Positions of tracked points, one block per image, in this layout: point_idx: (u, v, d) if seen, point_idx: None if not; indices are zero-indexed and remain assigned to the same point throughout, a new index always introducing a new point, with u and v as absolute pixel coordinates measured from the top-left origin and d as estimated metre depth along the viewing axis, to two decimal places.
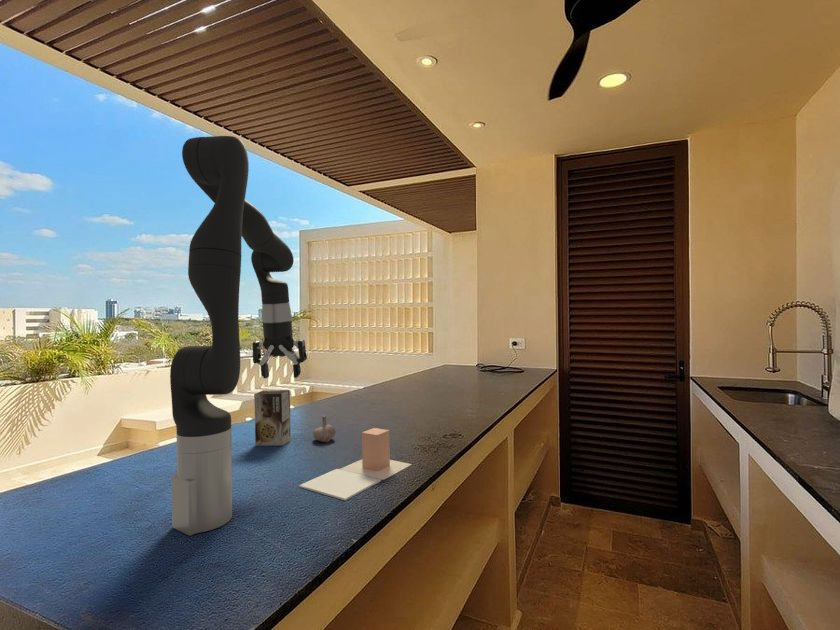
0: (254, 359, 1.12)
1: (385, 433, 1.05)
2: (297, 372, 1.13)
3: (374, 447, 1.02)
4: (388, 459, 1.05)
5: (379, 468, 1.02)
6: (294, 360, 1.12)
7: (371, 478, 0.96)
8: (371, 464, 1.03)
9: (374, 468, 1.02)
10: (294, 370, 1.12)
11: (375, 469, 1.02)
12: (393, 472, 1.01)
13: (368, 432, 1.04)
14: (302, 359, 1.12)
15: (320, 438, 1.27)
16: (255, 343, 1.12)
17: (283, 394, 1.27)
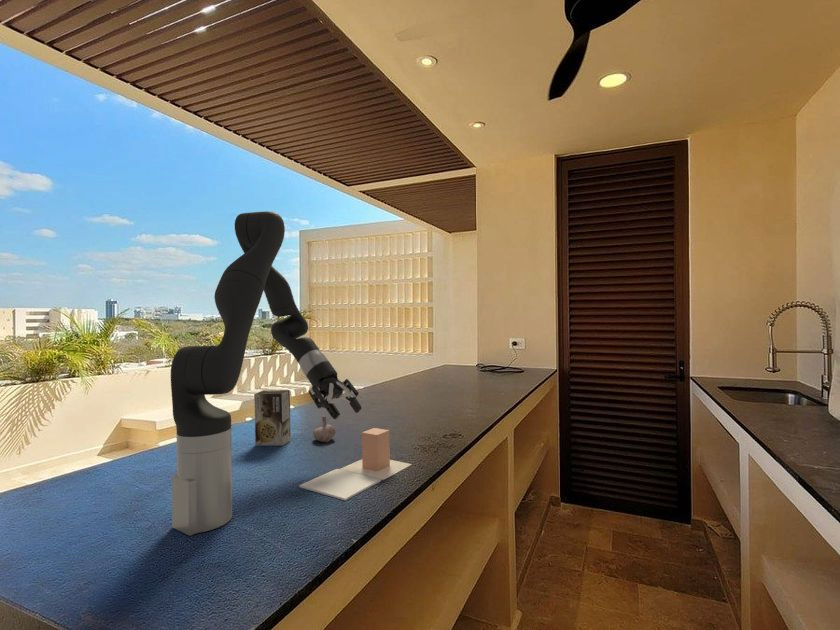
0: (322, 399, 1.06)
1: (385, 433, 1.05)
2: None
3: (374, 447, 1.02)
4: (388, 459, 1.05)
5: (379, 468, 1.02)
6: (352, 394, 1.16)
7: (371, 478, 0.96)
8: (371, 464, 1.03)
9: (374, 468, 1.02)
10: (356, 402, 1.14)
11: (375, 469, 1.02)
12: (393, 472, 1.01)
13: (368, 432, 1.04)
14: (357, 392, 1.17)
15: (320, 438, 1.27)
16: (315, 386, 1.09)
17: (283, 394, 1.27)
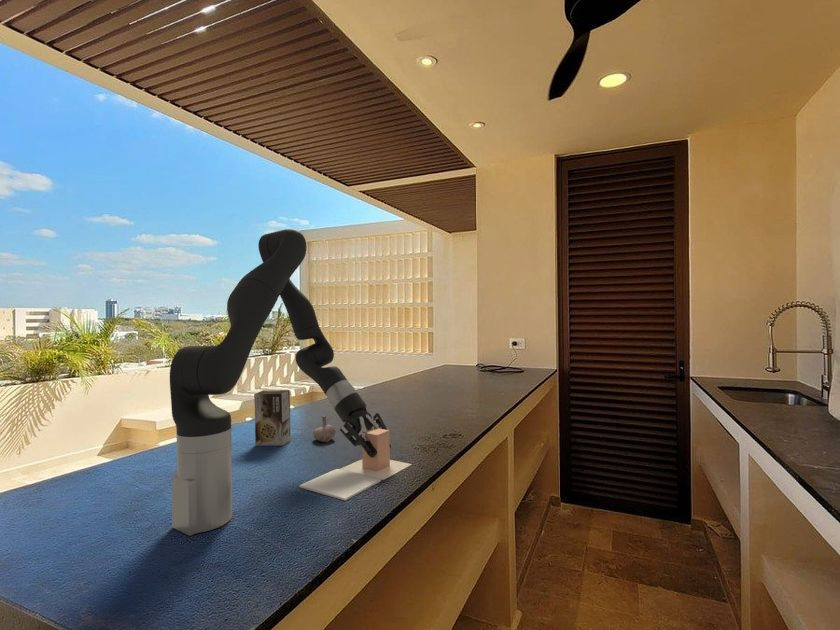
0: (358, 437, 1.01)
1: (385, 433, 1.05)
2: None
3: (374, 447, 1.02)
4: (388, 459, 1.05)
5: (379, 468, 1.02)
6: None
7: (371, 478, 0.96)
8: (371, 464, 1.03)
9: (374, 468, 1.02)
10: None
11: (375, 469, 1.02)
12: (393, 472, 1.01)
13: (368, 432, 1.04)
14: (385, 428, 1.10)
15: (320, 438, 1.27)
16: (347, 423, 1.03)
17: (283, 394, 1.27)
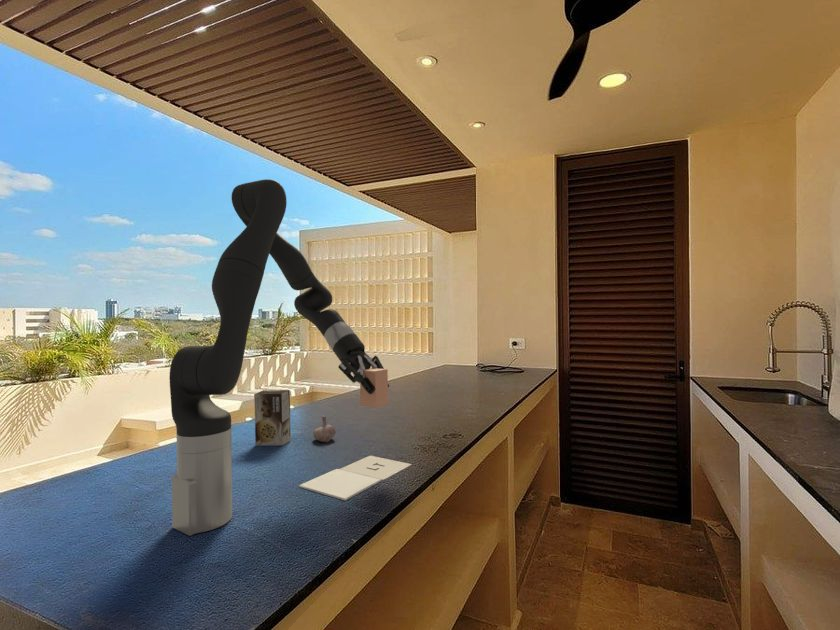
0: (357, 373, 1.01)
1: (383, 371, 1.05)
2: None
3: None
4: (386, 398, 1.05)
5: (377, 405, 1.02)
6: None
7: (371, 478, 0.96)
8: (369, 401, 1.03)
9: (372, 405, 1.02)
10: None
11: (373, 405, 1.02)
12: (393, 472, 1.01)
13: (366, 370, 1.04)
14: None
15: (320, 438, 1.27)
16: (345, 360, 1.03)
17: (283, 394, 1.27)
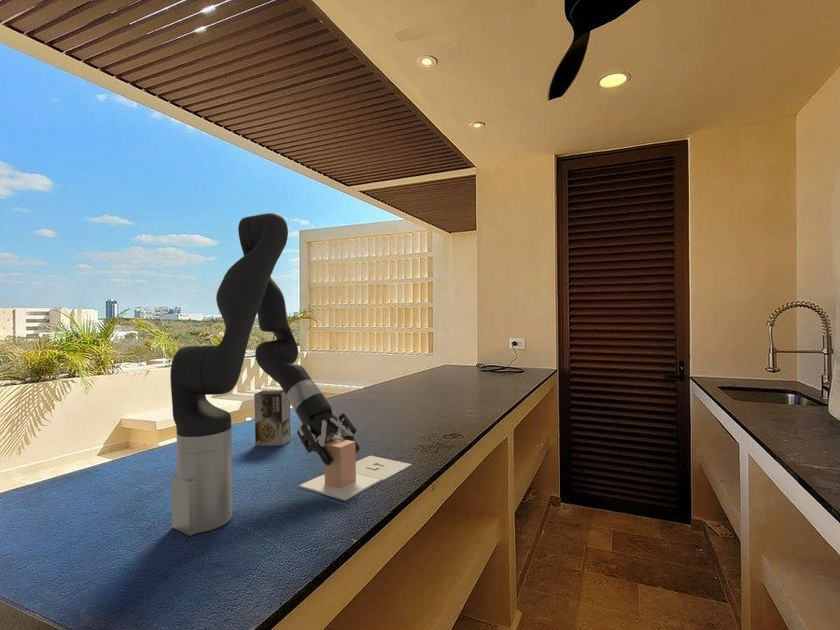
0: (312, 442, 0.90)
1: (350, 445, 0.94)
2: (356, 444, 0.98)
3: (337, 461, 0.91)
4: (354, 474, 0.95)
5: (343, 484, 0.91)
6: (348, 432, 0.99)
7: (371, 478, 0.96)
8: (333, 480, 0.92)
9: (337, 484, 0.91)
10: None
11: (338, 486, 0.91)
12: (393, 472, 1.01)
13: (331, 444, 0.93)
14: (354, 429, 1.01)
15: None
16: (305, 425, 0.92)
17: (283, 394, 1.27)
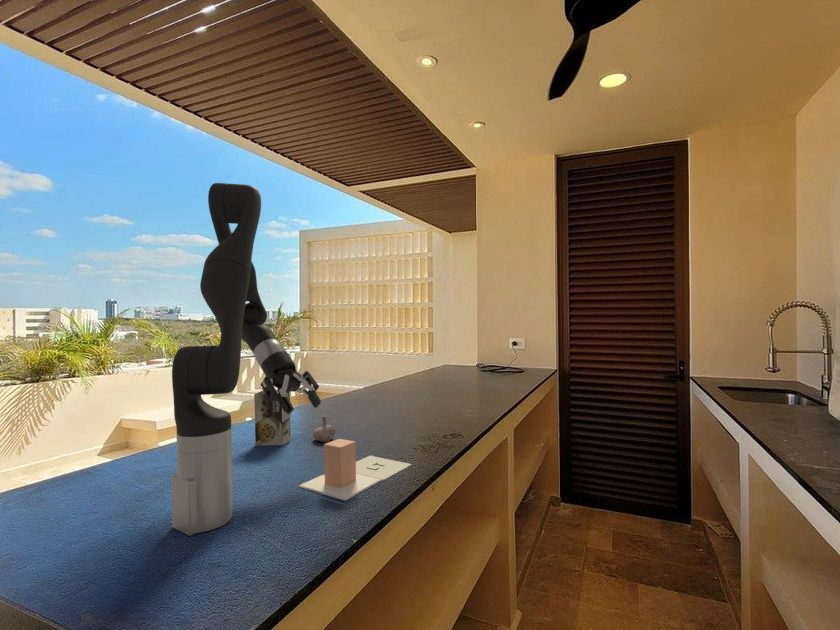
0: (274, 392, 0.97)
1: (350, 445, 0.94)
2: None
3: (337, 461, 0.91)
4: (354, 474, 0.95)
5: (343, 484, 0.91)
6: (311, 387, 1.06)
7: (371, 478, 0.96)
8: (333, 480, 0.92)
9: (337, 484, 0.91)
10: (315, 396, 1.05)
11: (338, 486, 0.91)
12: (393, 472, 1.01)
13: (331, 444, 0.93)
14: (317, 385, 1.08)
15: (320, 438, 1.27)
16: (267, 377, 0.99)
17: None
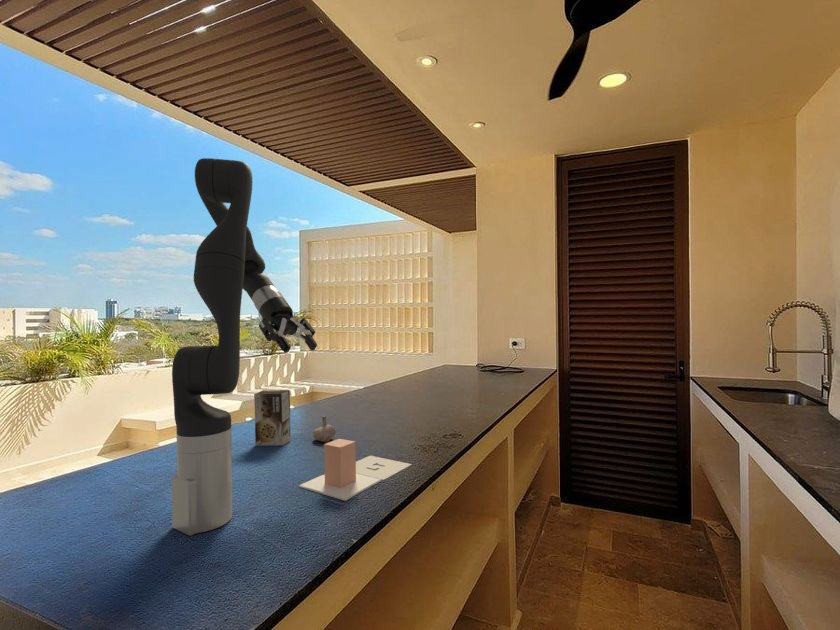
0: (271, 331, 1.00)
1: (350, 445, 0.94)
2: (314, 342, 1.09)
3: (337, 461, 0.91)
4: (354, 474, 0.95)
5: (343, 484, 0.91)
6: (307, 331, 1.09)
7: (371, 478, 0.96)
8: (333, 480, 0.92)
9: (337, 484, 0.91)
10: (312, 339, 1.08)
11: (338, 486, 0.91)
12: (393, 472, 1.01)
13: (331, 444, 0.93)
14: (313, 330, 1.11)
15: (320, 438, 1.27)
16: (265, 318, 1.03)
17: (283, 394, 1.27)
